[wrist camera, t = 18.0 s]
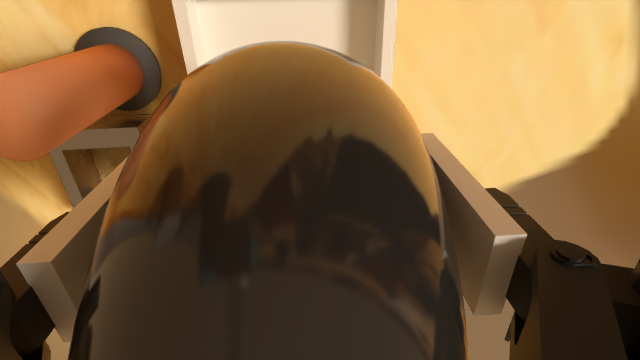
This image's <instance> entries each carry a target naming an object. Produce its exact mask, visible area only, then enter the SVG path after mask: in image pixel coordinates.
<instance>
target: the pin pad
mask: <svg viewBox="0 0 640 360" xmlns="http://www.w3.org/2000/svg"><path fill="white" fill-rule="evenodd" d="M107 43H108V44H116V45H119V46H121V47H124V48H125V49H127V50H128V51H130V52H131V53H132V54H133V55H134V56H135V57H136V58H137V59H138V61H139V62H140V64H141V66H142V69H143V72H144V84H143V87H142V89H141V90H140V92H139V93H138V94H136V95H135V96H134V97H132V98H130V99H129V100H127V101H126V102H124V103H123V104H121V105H120V106H118V107H117V108H115V109H118V110H127V111H130V110H137V109H140V108H143V107H145V106H146V105H148V104H149V103H150V102H152V101H153V100H154V99H155V97H156V96H157V94H158V92H159V90H160V87H161V70H160V66H159V63H158V61H157V59H156V57H155V55H154V53H153V52H152V51H151V49H150V48H149V47H148V46H147V45H146V44H145V43H144V42H143V41H142V40H141V39H140V38H138V37H137V36H135V35H134V34H132V33H130V32H128V31H125V30H123V29H119V28H114V27H103V28H97V29H94V30H91V31H89V32H87V33H86V34H84V35H83V36H82V37H81V38H80V40H79V41H78V43H77V45H76V48H75V51H74V52H76V51H80V50H83V49H87V48H90V47H94V46H97V45H101V44H107Z"/></svg>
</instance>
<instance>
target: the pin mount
mask: <svg viewBox="0 0 640 360" xmlns="http://www.w3.org/2000/svg"><path fill="white" fill-rule="evenodd" d="M152 115H153V114H146V115H124V116H103V117H102V118H100V119H99V120H97V121H96V122H94V123H93V124H91V125H90V126H88V127H87V128H85V129H84V130H82V131H81V132H79V133H78V134H76V135H75V136H73V137H71V138H70V139H68V140H67V141H65V142H64V143H62V144H61V145H59V146H58V147H56V148H55V149H53V150H52V151H50V152H49V155H50V157H51V159H52V161H53V163H54V166H55V168H56V170H57V172H58V174H59V177H60V179H61V181H62V183H63V185H64V188H65V190H66V192H67V194H68V196H69V199H70V201H71V203H72V205H73V207H74V208H75V207H76V206H77V205H78V204H79V203H80V202H81V201H82V200H83V199H84V198H85V197H86V196H87V195H88V194H89V193H90V192H91V191H92V190H93V189H94V188H95V187H96V186H97V185H99V184H100V183H101V182H102V181H101V179H100V176H99V174H98V171H97V168H96V166H95V163H94V161H93V158H92V156H91V153H90V151H89V149H94V148H115V147H130V150H132V148H133V147H134V145H135V143H136V141H137V139H138V138H139V136H140V134H141V132H142V131H143V129H144V127H145V126H146V124H147V123H148V121H149V119H150V118H151V116H152Z"/></svg>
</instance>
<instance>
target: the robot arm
mask: <svg viewBox="0 0 640 360" xmlns="http://www.w3.org/2000/svg"><path fill="white" fill-rule="evenodd" d="M421 135H422V137H423V140H424V142H425V144H426V147H427V149H428V151H429V154H430V157H431V159H432V162H433V164H434V167H435V170H436V173H437V176H438V179H439V182H440V185H441V188H442V192H443V195H444V199H445V203H446V207H447V211H448V216H449V220H450V225H451V230H452V235H453V240H454V246H455V251H456V257H457V262H458V268H459V274H460V281H461V287H462V294H463V296H464V298H465V300H466V302H467V304H468V305H469V307H470V309H471V311H472V313H473V315H490V314H501V312H502V310H503V307H504V303H505V300H506V298H507V299H508V301H509V302H510V304H511V305H512V307H513V308H514V310H515V312H514V315H513V317H512V320H511V323H510V326H509V329H508V331H507V334H506V337H505V340H506V341H509V340H510V358H509V359H510V360H640V259H639V261H638V262H637V265H636V266H635V268H634V269H633V268H626V267H620V266H614V265H607V264H601V263H600V261H599V260H598V258H597V257H596V256H594V255H593V254H592V253H591V252H590V251H588V250H586V249H584V248H582V247H580V246H578V245H576V244H573V243H569V242H566V241H560V240H554V239H553V238H552V237H551V236H550V235H549V234H548V233H547V232H546V231H545V230H544V229H543V228H542V227H541V226H540V225H539V224H538V223H537V222H536V221H535V220H534V219H533V218H532V217H530V215H527V213H526V212H525V211H524V210H523V209H522V208H521V207H519V205H518V204H517V203H516V202H515V201H514V200H513V199H512V198H511V197H510V196H509V195H507V194H505V193H503V192H501V191H500V190H498V189H496V188H485V189H484V187H483V186H482V185H481V184H480V183H479V182H478V181H477V180H476V179H475V178H474V177H473V176H472V175H471V174H470V173H469V171H468V170H467V169H466V168H465V167H464V166H463V165H462V164H461V163H460V162H459V161H458V160H457V159H456V158H455V157H454V155H453V154H452V153H451V152H450V151H449V150H448V149H447V148H446V147H445V146H444V145H443V144H442V143H441V142H440V141H439V139H438V138H437V137H436V136H435V135H434V134H433V133H425V134H421ZM127 158H128V157H127ZM127 158H126V159H125V160H123V161H122V162H121V163H120V164H119V165H118V166H117V167H116V168H115V169H114V170H113V171H112V172H111V173H110V174H109V175H108V176H107V177H106V178H105V179H104V180H103V181H102V182H101V183H100V184H99V185H97V186H96V187H95V188H94V189H93V190H92V191H91V192H90V193H89V194H88V195H87V196H86V197H85V198H84V199H83V200H82V201H81V202H80V203H79V204H78V205H77V206H76V207H75V208H74V209H72V210H71V211H70V212H66V213H64V214H63V215H61V216H59V217H58V218H56V219H54V220H52V221H51V222H50V223H48V224H47V225H46V226H45V227H44V228H43V229H42V230H41V231H40V232H39V235H35V236H34V237H33V238H32V239H31V240H30V241H29V244H26V245H25V246H24V247H22V248H21V250H19V251H18V252H17V253H16V254H15V255H14V256H13V257H12V258H11V259H10V260H9V261H7V262H6V263H5V264H4V265H3V266H2V267H1V268H0V360H51V351H50V348H49V345H48V344H47V342H46V341H45V340H46V338H47V337H48V336H49V334H50V333H51V332H52V330H53V329H54V327H55V329H56V330H57V332H58V334H59V335H60V337H61V339H62V340H63V342H71V337H72V332H73V327H74V322H75V317H76V313H77V309H78V304H79V300H80V296H81V292H82V288H83V284H84V281H85V277H86V273H87V270H88V266H89V263H90V259H91V256H92V252H93V249H94V246H95V242H96V239H97V236H98V232H99V229H100V226H101V223H102V220H103V217H104V214H105V211H106V208H107V205H108V203H109V200H110V197H111V195H112V192H113V189H114V187H115V184H116V182H117V179H118V177H119V175H120V173H121V171H122V168H123V166H124V164H125V162H126V160H127Z"/></svg>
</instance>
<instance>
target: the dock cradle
mask: <svg viewBox="0 0 640 360" xmlns="http://www.w3.org/2000/svg"><path fill="white" fill-rule="evenodd" d="M397 2H398V0H172V5H173V9H174V14H175V19H176V23H177V28H178V33H179V37H180V42H181V47H182V51H183V56H184V61H185V65H186V70H187V75H188V74H190V73H191V72H192V71H193V70H195V69H196V68H198V67H199V66H201V65H202V64H204V63H205V62H207V61H209V60H210V59H212V58H214V57H216V56H218V55H220V54H222V53H224V52H227V51H229V50H232V49H235V48H238V47H241V46H245V45H249V44H254V43H260V42H268V41H297V42H305V43H311V44H315V45H320V46H323V47H327V48H330V49H333V50H335V51H338V52H340V53H343V54H345V55H347V56H349V57H351V58H353V59H355V60H357V61H358V62H360V63H362V64H363V65H365V66H366V67H368V68H369V69H370V70H372V71H373V72H374V73H375V74H377V75H378V76H379V77H380V78H381V79H382V80H383V81H384V82H385V83H386V84H387V85H388V86H389V87H390V88H391V86H392V72H393V58H394V44H395V30H396V16H397Z"/></svg>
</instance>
